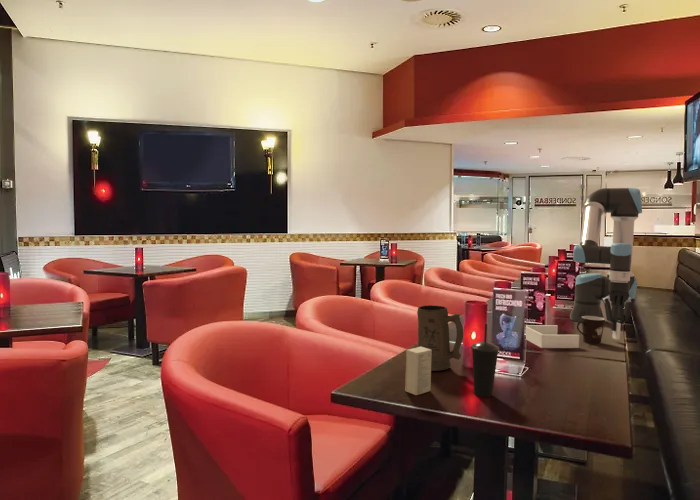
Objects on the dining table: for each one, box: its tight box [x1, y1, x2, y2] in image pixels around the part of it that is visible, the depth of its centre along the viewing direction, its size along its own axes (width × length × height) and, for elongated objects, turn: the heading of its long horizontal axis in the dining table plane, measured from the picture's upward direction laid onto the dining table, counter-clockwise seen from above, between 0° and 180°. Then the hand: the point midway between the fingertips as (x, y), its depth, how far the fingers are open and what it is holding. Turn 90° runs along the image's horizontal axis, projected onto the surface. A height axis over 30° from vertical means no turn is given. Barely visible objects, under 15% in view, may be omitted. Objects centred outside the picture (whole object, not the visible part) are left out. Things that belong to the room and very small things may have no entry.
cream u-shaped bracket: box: [525, 324, 580, 349], centre depth 208 cm, size 15×18×5 cm
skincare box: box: [404, 346, 432, 396], centre depth 146 cm, size 6×4×12 cm
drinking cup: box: [470, 323, 500, 398], centre depth 145 cm, size 8×8×20 cm
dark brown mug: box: [576, 316, 606, 345], centre depth 210 cm, size 12×9×10 cm
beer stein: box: [416, 304, 464, 372], centre depth 169 cm, size 15×11×20 cm
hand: (616, 338), depth 211 cm, fingers closed
